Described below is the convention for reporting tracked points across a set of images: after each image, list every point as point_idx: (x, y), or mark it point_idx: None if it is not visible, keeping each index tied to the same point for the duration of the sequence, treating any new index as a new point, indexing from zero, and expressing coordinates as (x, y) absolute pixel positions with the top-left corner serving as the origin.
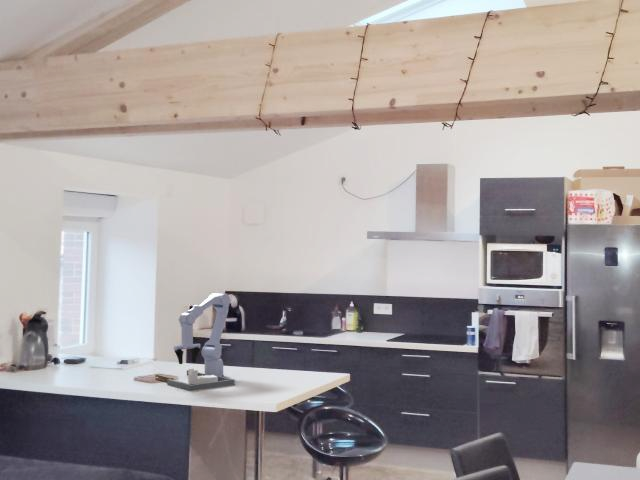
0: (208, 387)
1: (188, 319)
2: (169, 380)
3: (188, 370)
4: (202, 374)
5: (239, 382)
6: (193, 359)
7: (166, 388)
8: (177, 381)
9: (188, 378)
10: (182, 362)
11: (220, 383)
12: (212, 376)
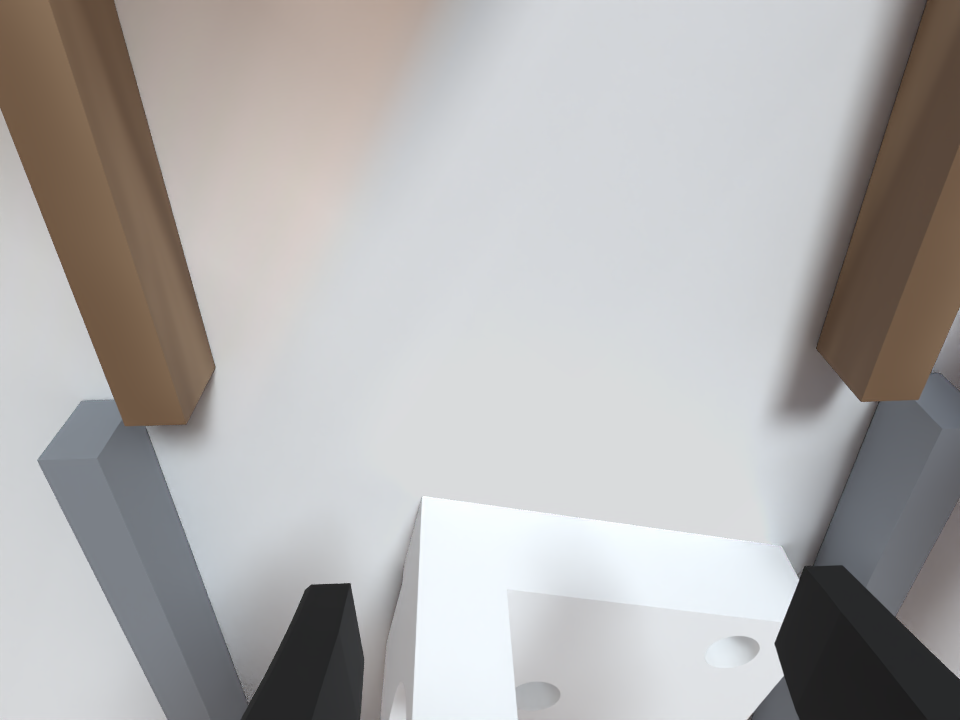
0: None
1: None
2: (71, 512)
3: (412, 692)
4: (860, 395)
5: None
6: (830, 703)
7: (11, 609)
8: (161, 657)
9: (418, 561)
10: (358, 718)
11: None
12: (711, 699)
